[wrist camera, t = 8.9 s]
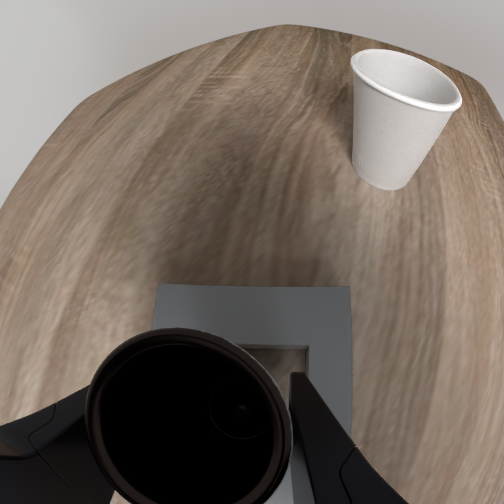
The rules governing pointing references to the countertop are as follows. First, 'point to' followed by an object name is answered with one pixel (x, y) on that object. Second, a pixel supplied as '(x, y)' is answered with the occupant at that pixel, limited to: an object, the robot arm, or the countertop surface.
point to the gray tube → (188, 421)
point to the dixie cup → (397, 114)
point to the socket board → (275, 333)
